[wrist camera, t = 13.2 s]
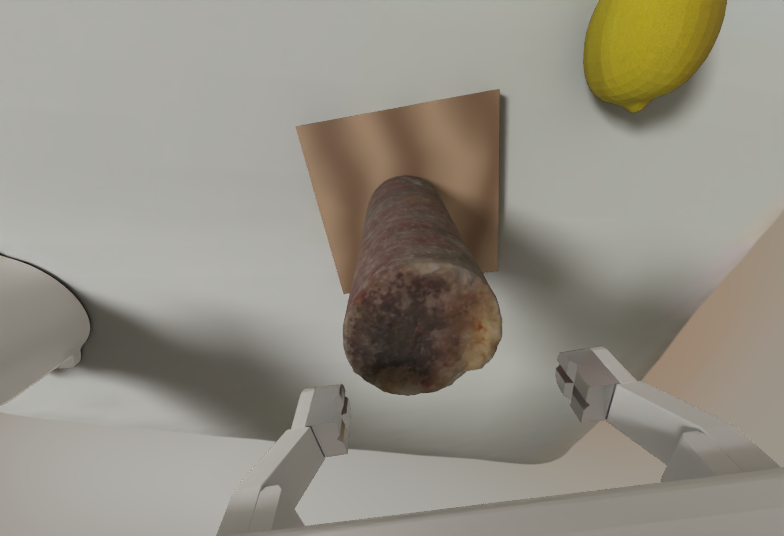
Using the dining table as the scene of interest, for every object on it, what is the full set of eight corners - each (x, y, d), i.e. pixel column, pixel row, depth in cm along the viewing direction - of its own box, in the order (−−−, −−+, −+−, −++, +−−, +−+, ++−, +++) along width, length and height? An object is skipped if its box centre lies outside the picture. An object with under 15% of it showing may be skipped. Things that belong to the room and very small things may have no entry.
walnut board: (345, 287, 37) (343, 293, 35) (299, 125, 28) (295, 126, 27) (493, 264, 36) (498, 270, 34) (493, 89, 27) (499, 89, 26)
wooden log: (354, 185, 29) (310, 307, 12) (426, 157, 28) (496, 244, 11) (383, 252, 33) (382, 422, 15) (448, 228, 32) (528, 383, 14)
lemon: (639, 108, 28) (724, 109, 21) (554, 116, 28) (611, 120, 21) (681, -52, 23) (814, -122, 16) (578, -41, 23) (664, -105, 16)
